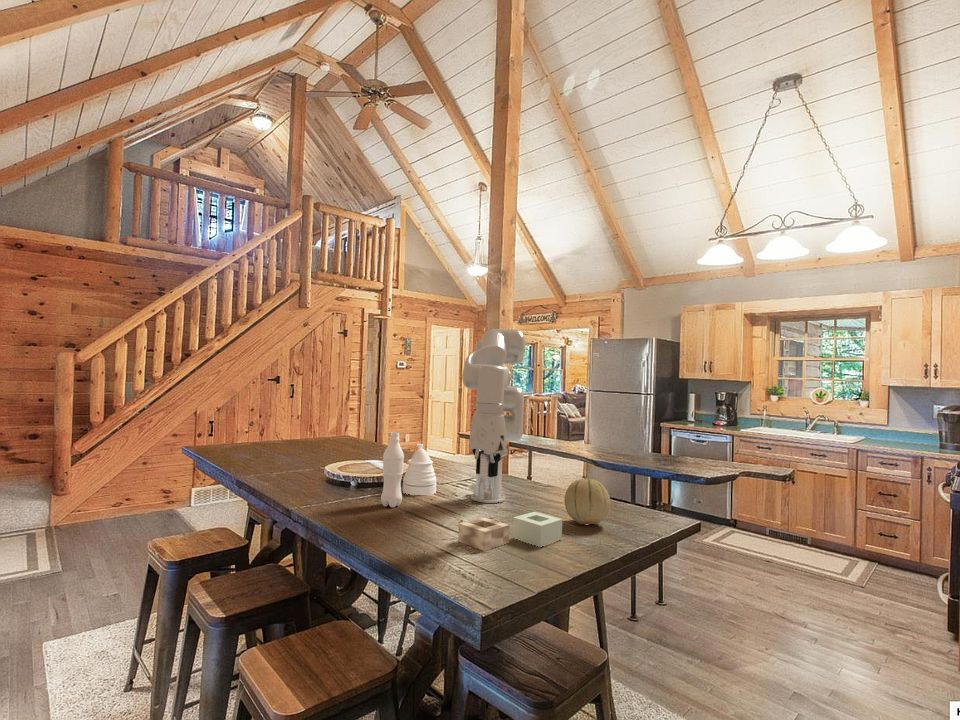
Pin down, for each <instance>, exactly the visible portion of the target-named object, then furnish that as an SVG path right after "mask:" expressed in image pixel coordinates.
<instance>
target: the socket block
mask: <svg viewBox="0 0 960 720" xmlns="http://www.w3.org/2000/svg"><path fill="white" fill-rule="evenodd" d="M510 529H511V528H510V524H507V523H503V522H501V521H498V520H494V519H492V518H488V517H485V516H481V517H479V518H474V519H470V520H467V521H466V520H465V521H462V522H459V523H458V534H457V536H458V537H457V542H459V543H462V544H464V545H467V546H469V547H473V548H475V549H477V548H478V550H481V551H483V552H486V551H489V550H493V549H496V548H499V547H502V546H504V544H505V545H507V544H506V543H508V544H510ZM501 545H502V546H501ZM498 546H499V547H498ZM495 547H496V548H495ZM492 548H493V549H492Z"/></svg>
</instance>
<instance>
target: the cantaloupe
mask: <svg viewBox="0 0 960 720" xmlns="http://www.w3.org/2000/svg"><path fill="white" fill-rule="evenodd" d="M563 501H564V507H565V510H566V512H567V514H568V516H569V517H570V518H571V519H572V520H573V521H574V522H576V523H577V524H580V525H582V524H594V525H597V523H598V524H601V522H604V520H605V519H607V517H608V515H609V513H610V509H611V496H610V493H609V491H608V490H607V488H606V487H605V486H604V484H602V482H600V481H598V480H596V479H592V478H588V476H586V475H582V477H581V479H580V478H579V479H577V480H576V479H575V480H574V481H573V482H571V483H570V484H569V486H568V487H567V489H566V491H565V494H564V500H563Z"/></svg>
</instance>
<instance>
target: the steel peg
mask: <svg viewBox="0 0 960 720" xmlns="http://www.w3.org/2000/svg"><path fill="white" fill-rule="evenodd" d="M489 462H491V460H490V453H481V454H480V474H479V495H478V497H479V498H482V499H491V498H493V481H494V477H489V476H488V470H489Z"/></svg>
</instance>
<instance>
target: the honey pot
mask: <svg viewBox="0 0 960 720" xmlns="http://www.w3.org/2000/svg"><path fill="white" fill-rule="evenodd" d="M416 447H417V450H416V451H415V452H414V453H413V455H412V457H411V459H408V460H406V461H407V462H406V463H407V464H408V466H407V468H406V472H405V473H404V476H403V478H402V479H403V480H402V493H403V494H405V493H406V494H405V495H408V494H410V495H409V496H414V495H427V496H431V495H430V494H433V495H434V493H435V494H436V493H437V477H436V473H435V469H434V467H433V464H434V461H433V460H431V458H430V455H429V454H428V451H427V450H426V449H424V444H423V443H416Z"/></svg>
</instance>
